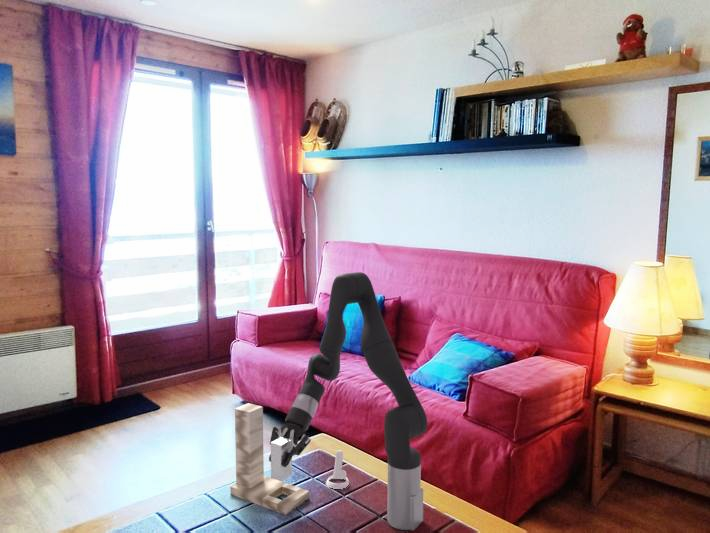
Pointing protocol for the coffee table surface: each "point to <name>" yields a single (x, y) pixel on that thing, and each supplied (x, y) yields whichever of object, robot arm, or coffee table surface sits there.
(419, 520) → the robot arm
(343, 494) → the coffee table surface
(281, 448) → the smooth gray rectangular block
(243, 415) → the beam with square loop
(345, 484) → the white vr controller
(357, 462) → the coffee table surface
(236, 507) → the coffee table surface
